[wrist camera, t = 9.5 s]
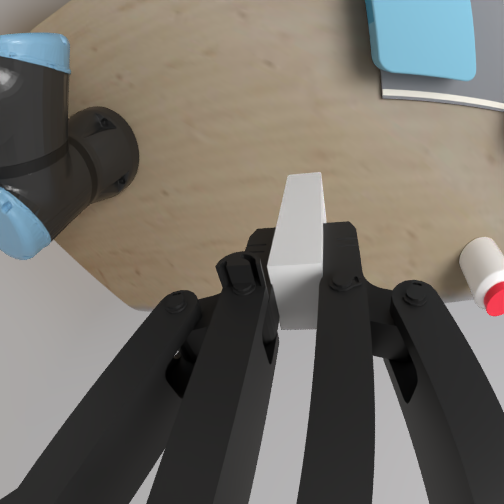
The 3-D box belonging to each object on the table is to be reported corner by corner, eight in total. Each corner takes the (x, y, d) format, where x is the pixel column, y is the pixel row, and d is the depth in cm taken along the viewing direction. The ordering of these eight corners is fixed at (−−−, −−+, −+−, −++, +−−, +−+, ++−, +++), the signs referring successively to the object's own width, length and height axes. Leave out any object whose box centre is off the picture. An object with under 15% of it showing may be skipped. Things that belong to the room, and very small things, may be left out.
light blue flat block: (372, 70, 30) (461, 79, 27) (379, 72, 27) (477, 83, 24) (361, -21, 23) (454, -8, 20) (366, -30, 20) (468, -13, 17)
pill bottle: (484, 227, 39) (512, 273, 30) (503, 254, 40) (528, 298, 31) (451, 258, 43) (471, 307, 34) (472, 281, 45) (491, 328, 36)
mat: (382, 97, 32) (382, 98, 32) (365, -36, 22) (366, -37, 22) (507, 112, 28) (509, 113, 27) (499, -10, 17) (501, -10, 17)
